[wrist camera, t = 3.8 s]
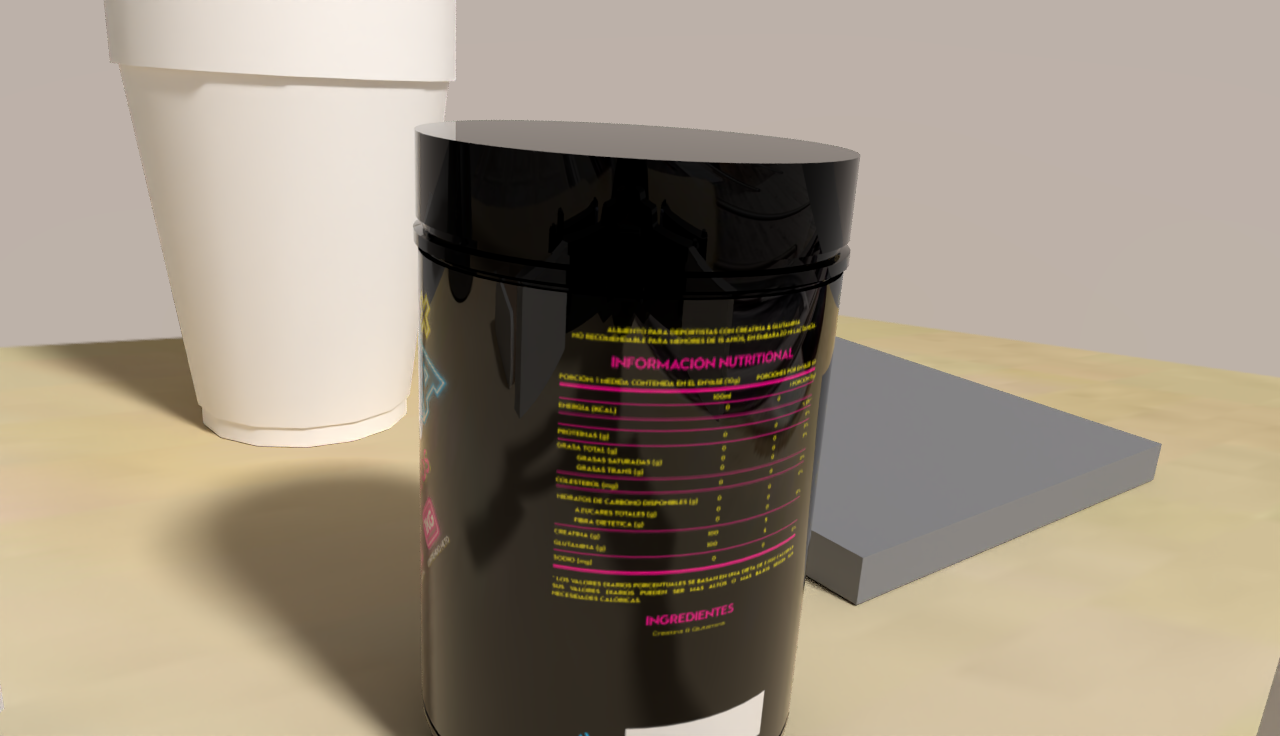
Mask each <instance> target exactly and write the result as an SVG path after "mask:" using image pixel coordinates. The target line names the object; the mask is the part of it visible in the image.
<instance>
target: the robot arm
mask: <svg viewBox="0 0 1280 736" xmlns="http://www.w3.org/2000/svg"><path fill="white" fill-rule="evenodd" d="M2 710H4V704H3V698H2V692H1V686H0V712H1V711H2ZM1257 736H1280V659H1279V662H1278V666H1277V669H1276V672H1275V676H1274V679H1273V682H1272V686H1271V689H1270V692H1269V696H1268V699H1267V702H1266V706H1265V709H1264V712H1263V716H1262V719H1261V723H1260V726H1259V729H1258V733H1257Z"/></svg>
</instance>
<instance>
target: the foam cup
mask: <svg viewBox="0 0 1280 736" xmlns="http://www.w3.org/2000/svg"><path fill="white" fill-rule="evenodd" d="M104 6H105V16H106V26H107V35H108V47H109V56H110V62H111V63H118V64H119V68H120V72H121V76H122V81H123V85H124V89H125V93H126V97H127V102H128V106H129V111H130V115H131V119H132V123H133V127H134V132H135V136H136V141H137V145H138V149H139V153H140V157H141V161H142V166H143V170H144V175H145V179H146V183H147V188H148V192H149V196H150V200H151V205H152V209H153V213H154V217H155V222H156V226H157V230H158V234H159V239H160V243H161V247H162V252H163V256H164V260H165V264H166V269H167V273H168V277H169V281H170V286H171V290H172V294H173V298H174V303H175V307H176V312H177V316H178V320H179V324H180V329H181V333H182V337H183V341H184V346H185V350H186V354H187V359H188V363H189V367H190V371H191V376H192V380H193V384H194V388H195V393H196V397H197V401H198V404H199V405H200V406H201V407H202V414H203V424H205V425H206V426H207V427H208V428H210V429H211V430H212V431H213V432H215V433H216V434H217V435H218V436H220V437H222V438H226V439H230V440H234V441H239V442H243V443H247V444H251V445H255V446H274V447H313V446H320V445H328V444H335V443H342V442H350V441H355V440H358V439H361V438H364V437H367V436H370V435H373V434H376V433H379V432H381V431H384V430H387V429H390V428H391V427H392V426H393V425H395V424H396V423H397V422H398V421H399V420H400V419H401V418H403V417H404V416H405V415H406V414H407V397H408V396H409V395H410V389H411V381H412V373H413V365H414V357H415V349H416V341H417V333H418V253H417V245H416V244H415V243H414V240H413V224H414V222H415V221H416V220H417V217H416V215H415V170H414V128H415V127H416V126H418V125H422V124H427V123H435V122H444V117H445V109H446V101H447V93H448V85H449V81H456V0H104Z"/></svg>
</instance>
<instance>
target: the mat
mask: <svg viewBox="0 0 1280 736" xmlns="http://www.w3.org/2000/svg"><path fill="white" fill-rule="evenodd" d="M1161 445H1162V444H1160V443H1157V442H1154V441H1151V440H1148V439H1145V438H1142V437H1139V436H1136V435H1133V434H1130V433H1127V432H1124V431H1121V430H1118V429H1115V428H1112V427H1108V426H1105V425H1102V424H1099V423H1096V422H1093V421H1090V420H1087V419H1084V418H1081V417H1078V416H1075V415H1072V414H1069V413H1066V412H1063V411H1060V410H1057V409H1054V408H1051V407H1048V406H1045V405H1042V404H1039V403H1036V402H1033V401H1030V400H1027V399H1024V398H1021V397H1018V396H1015V395H1012V394H1008V393H1005V392H1002V391H999V390H996V389H993V388H990V387H987V386H984V385H981V384H978V383H975V382H972V381H969V380H966V379H963V378H960V377H957V376H954V375H951V374H948V373H945V372H942V371H939V370H936V369H933V368H930V367H927V366H924V365H921V364H918V363H915V362H912V361H908V360H905V359H902V358H899V357H896V356H893V355H890V354H887V353H884V352H881V351H878V350H875V349H872V348H869V347H866V346H863V345H860V344H857V343H854V342H851V341H848V340H845V339H842V338H839V337H836V336H835V344H834V352H833V360H832V368H831V376H830V385H829V393H828V401H827V409H826V417H825V425H824V433H823V441H822V449H821V457H820V465H819V473H818V481H817V489H816V497H815V505H814V513H813V521H812V530H811V538H810V546H809V554H808V562H807V570H806V575H807V576H808V577H810V578H812V579H813V580H815V581H817V582H818V583H820V584H822V585H823V586H825V587H827V588H828V589H830V590H832V591H834V592H835V593H837V594H839V595H840V596H842V597H844V598H845V599H847V600H849V601H850V602H852V603H854V604H855V605H858V604H860V603H862V602H865V601H867V600H870V599H872V598H874V597H877V596H879V595H881V594H884V593H886V592H889V591H891V590H893V589H896V588H898V587H900V586H903V585H905V584H907V583H910V582H912V581H915V580H917V579H919V578H922V577H924V576H926V575H929V574H931V573H933V572H936V571H938V570H941V569H943V568H945V567H948V566H950V565H952V564H955V563H957V562H960V561H962V560H964V559H967V558H969V557H971V556H974V555H976V554H978V553H981V552H983V551H986V550H988V549H990V548H993V547H995V546H997V545H1000V544H1002V543H1004V542H1007V541H1009V540H1012V539H1014V538H1016V537H1019V536H1021V535H1023V534H1026V533H1028V532H1031V531H1033V530H1035V529H1038V528H1040V527H1042V526H1045V525H1047V524H1049V523H1052V522H1054V521H1057V520H1059V519H1061V518H1064V517H1066V516H1068V515H1071V514H1073V513H1075V512H1078V511H1080V510H1083V509H1085V508H1087V507H1090V506H1092V505H1094V504H1097V503H1099V502H1102V501H1104V500H1106V499H1109V498H1111V497H1113V496H1116V495H1118V494H1120V493H1123V492H1125V491H1128V490H1130V489H1132V488H1135V487H1137V486H1139V485H1142V484H1144V483H1146V482H1149V481H1151V480H1153V478H1154V474H1155V470H1156V466H1157V462H1158V457H1159V453H1160V449H1161Z"/></svg>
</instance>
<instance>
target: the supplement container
mask: <svg viewBox="0 0 1280 736" xmlns="http://www.w3.org/2000/svg"><path fill="white" fill-rule="evenodd" d="M859 161H860V154H859V153H858V152H855V151H853V150H849V149H845V148H842V147H837V146H832V145H826V144H821V143H815V142H809V141H802V140H795V139H788V138H780V137H771V136H763V135H753V134H743V133H734V132H723V131H711V130H700V129H688V128H675V127H674V128H673V127H660V126H659V127H658V126H645V125H628V124H610V123H588V122H564V121H563V122H562V121H524V120H515V121H514V120H479V121H449V122H435V123H427V124H422V125H418V126H416V127H415V128H414V170H415V215H416V217H417V220H416V221H415V222H414V224H413V240H414V243H415V244H416V245H417V253H418V354H419V455H420V557H421V658H422V704H423V710H424V714H425V718H426V721H427V723H428V725H429V728H430V730H431V732H432V734H433V736H783V734H784V732H785V728H786V725H787V721H788V715H789V707H790V699H791V691H792V683H793V675H794V667H795V658H796V650H797V642H798V634H799V626H800V618H801V610H802V602H803V594H804V586H805V578H806V570H807V562H808V554H809V546H810V538H811V530H812V521H813V513H814V505H815V497H816V489H817V481H818V473H819V465H820V457H821V449H822V441H823V433H824V425H825V417H826V409H827V401H828V393H829V385H830V376H831V368H832V360H833V352H834V344H835V336H836V328H837V320H838V312H839V304H840V296H841V288H842V280H843V271H845V270H846V269H847V267H848V266H849V258H850V249H849V247H848V245H847V243H848V242H849V241H850V232H851V225H852V217H853V208H854V200H855V193H856V184H857V176H858V168H859Z"/></svg>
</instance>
